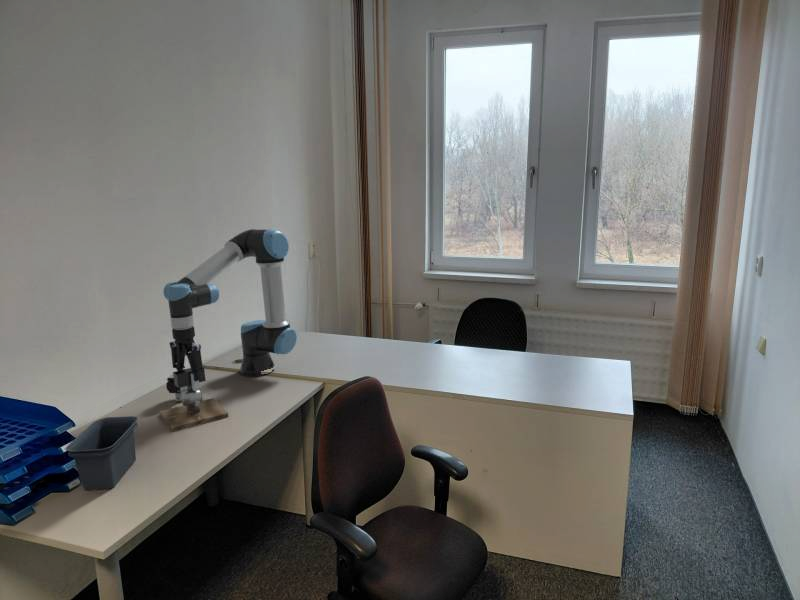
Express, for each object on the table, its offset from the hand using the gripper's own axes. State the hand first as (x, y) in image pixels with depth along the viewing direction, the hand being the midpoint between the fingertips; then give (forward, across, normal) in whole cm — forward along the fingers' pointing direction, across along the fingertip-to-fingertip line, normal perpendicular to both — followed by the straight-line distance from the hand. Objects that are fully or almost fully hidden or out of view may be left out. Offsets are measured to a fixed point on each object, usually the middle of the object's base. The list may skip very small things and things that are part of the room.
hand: (190, 387), depth 205 cm
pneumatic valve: (+11, +17, -9) cm, 22 cm away
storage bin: (+12, -10, +42) cm, 45 cm away
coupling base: (+11, 0, 0) cm, 11 cm away
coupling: (+6, 0, 0) cm, 6 cm away
